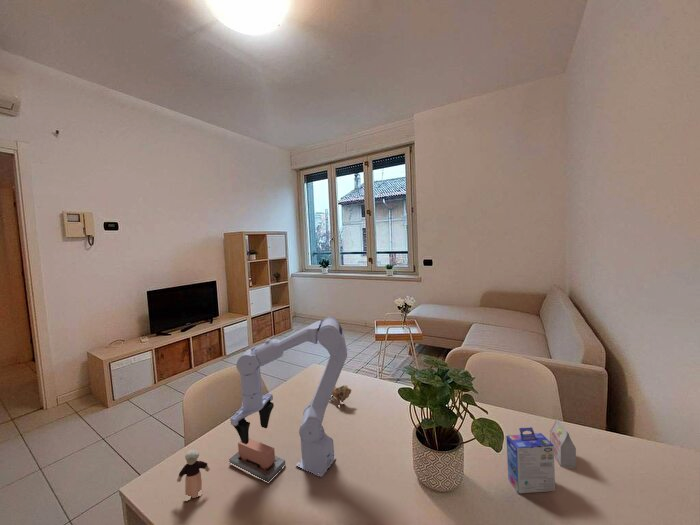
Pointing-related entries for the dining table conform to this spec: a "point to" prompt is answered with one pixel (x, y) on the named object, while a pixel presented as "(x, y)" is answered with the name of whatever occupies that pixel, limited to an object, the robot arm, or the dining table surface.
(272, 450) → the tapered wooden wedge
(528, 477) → the ink cartridge box
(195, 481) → the grandmother figurine
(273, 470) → the slotted metal plate
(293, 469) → the dining table surface
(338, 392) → the lion figurine
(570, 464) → the white gable-top carton
